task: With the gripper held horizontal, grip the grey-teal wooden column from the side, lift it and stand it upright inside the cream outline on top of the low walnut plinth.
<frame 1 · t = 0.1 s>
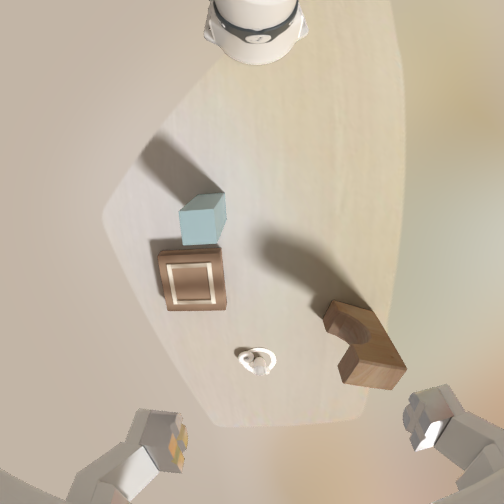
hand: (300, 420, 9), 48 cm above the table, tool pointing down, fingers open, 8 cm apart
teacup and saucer: (258, 348, 67), on the table
column: (212, 206, 55), on the table
plinth: (194, 277, 60), on the table
decorative block: (348, 315, 63), on the table
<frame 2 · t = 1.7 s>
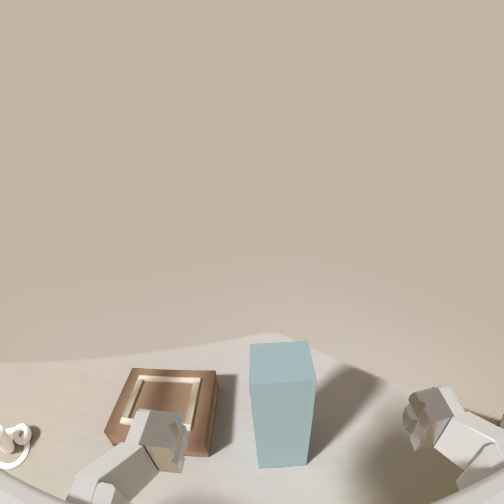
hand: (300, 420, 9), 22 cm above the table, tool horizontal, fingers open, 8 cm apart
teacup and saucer: (25, 457, 23), on the table
column: (281, 449, 28), on the table
plinth: (167, 416, 33), on the table
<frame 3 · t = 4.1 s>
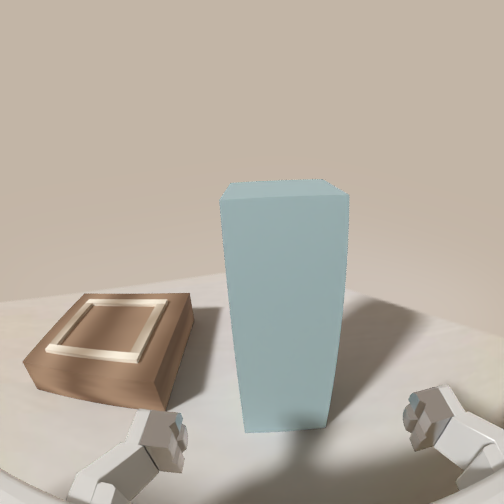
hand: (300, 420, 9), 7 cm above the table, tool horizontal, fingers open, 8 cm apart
column: (283, 402, 18), on the table
plinth: (118, 354, 24), on the table
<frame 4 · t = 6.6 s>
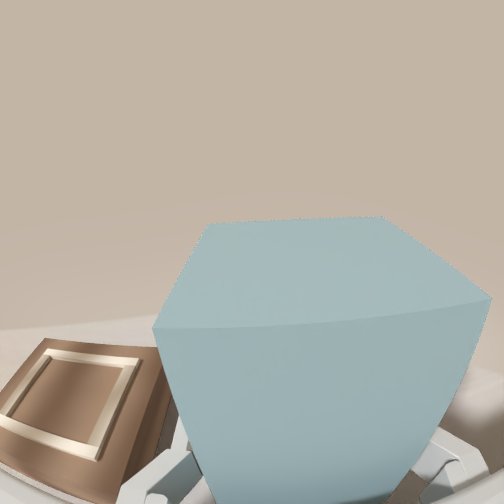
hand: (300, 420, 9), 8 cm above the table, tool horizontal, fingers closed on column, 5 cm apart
plinth: (82, 424, 16), on the table
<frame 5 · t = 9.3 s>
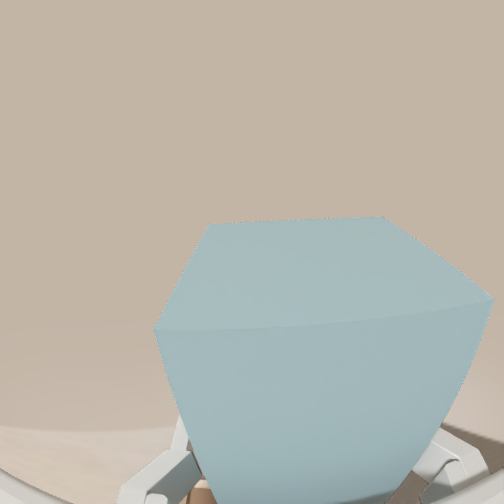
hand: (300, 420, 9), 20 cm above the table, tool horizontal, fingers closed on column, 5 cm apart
when the fingers open (12 cm above the table, at t = 12.1 s): column drops 1 cm, resting on plinth.
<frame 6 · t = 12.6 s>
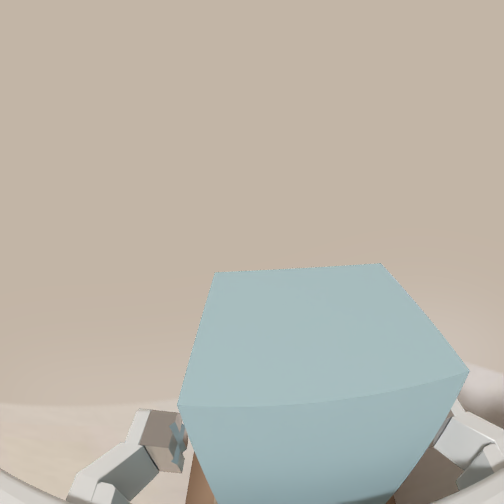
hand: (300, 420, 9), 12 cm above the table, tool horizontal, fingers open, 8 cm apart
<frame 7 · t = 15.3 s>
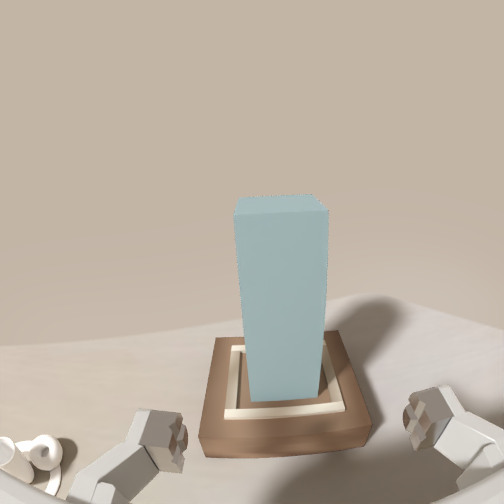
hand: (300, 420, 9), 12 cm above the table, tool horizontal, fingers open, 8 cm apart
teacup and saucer: (53, 490, 13), on the table
column: (282, 378, 23), point 3 cm above the table, touching plinth
plinth: (281, 400, 24), on the table
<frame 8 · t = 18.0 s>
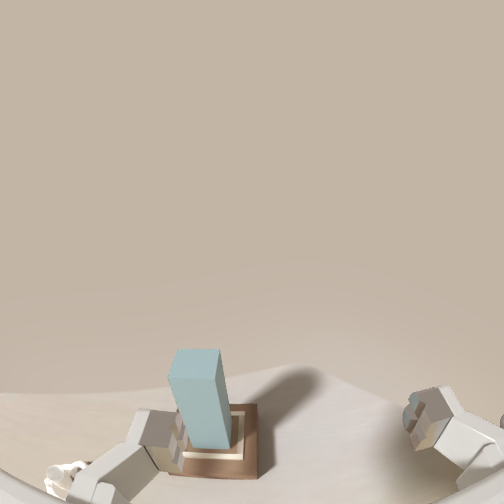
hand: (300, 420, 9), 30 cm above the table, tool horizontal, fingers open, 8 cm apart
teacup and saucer: (85, 492, 26), on the table
column: (213, 434, 36), point 3 cm above the table, touching plinth
plinth: (216, 445, 37), on the table
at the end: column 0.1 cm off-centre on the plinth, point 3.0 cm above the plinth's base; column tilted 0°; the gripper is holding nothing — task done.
